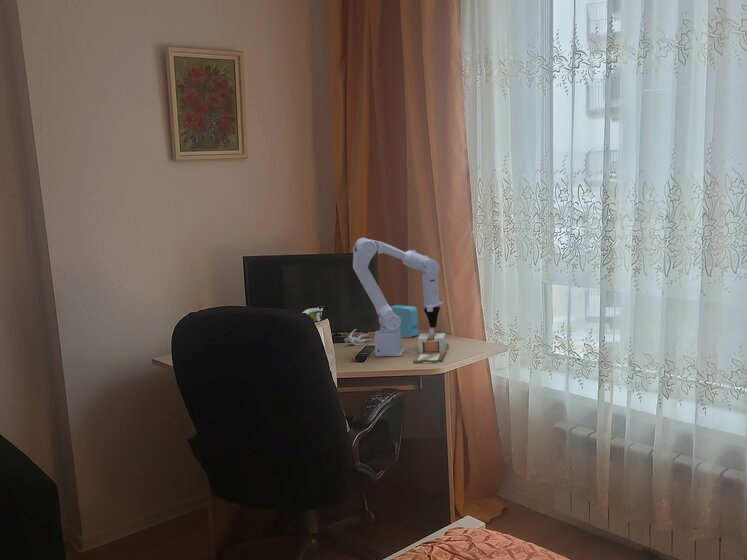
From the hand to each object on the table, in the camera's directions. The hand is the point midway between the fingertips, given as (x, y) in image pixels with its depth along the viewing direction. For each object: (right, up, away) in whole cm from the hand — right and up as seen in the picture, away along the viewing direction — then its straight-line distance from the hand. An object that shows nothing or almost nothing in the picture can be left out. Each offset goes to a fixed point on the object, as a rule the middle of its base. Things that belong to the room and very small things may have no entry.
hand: (433, 327), depth 282 cm
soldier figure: (-28, -8, +18) cm, 34 cm away
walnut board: (-1, -9, -7) cm, 12 cm away
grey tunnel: (-1, -9, -4) cm, 10 cm away
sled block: (-1, -8, -5) cm, 9 cm away
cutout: (-41, -7, +31) cm, 52 cm away
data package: (-10, -5, +27) cm, 29 cm away
